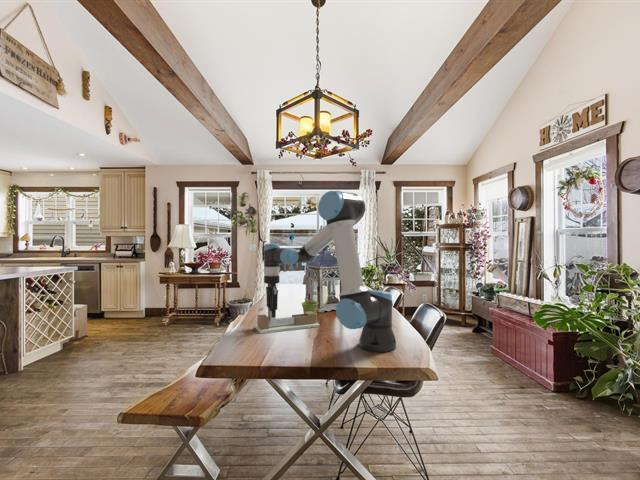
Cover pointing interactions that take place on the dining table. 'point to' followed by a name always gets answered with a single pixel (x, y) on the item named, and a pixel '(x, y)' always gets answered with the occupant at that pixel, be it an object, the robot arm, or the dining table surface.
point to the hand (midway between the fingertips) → (271, 322)
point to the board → (300, 322)
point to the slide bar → (281, 320)
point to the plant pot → (309, 306)
